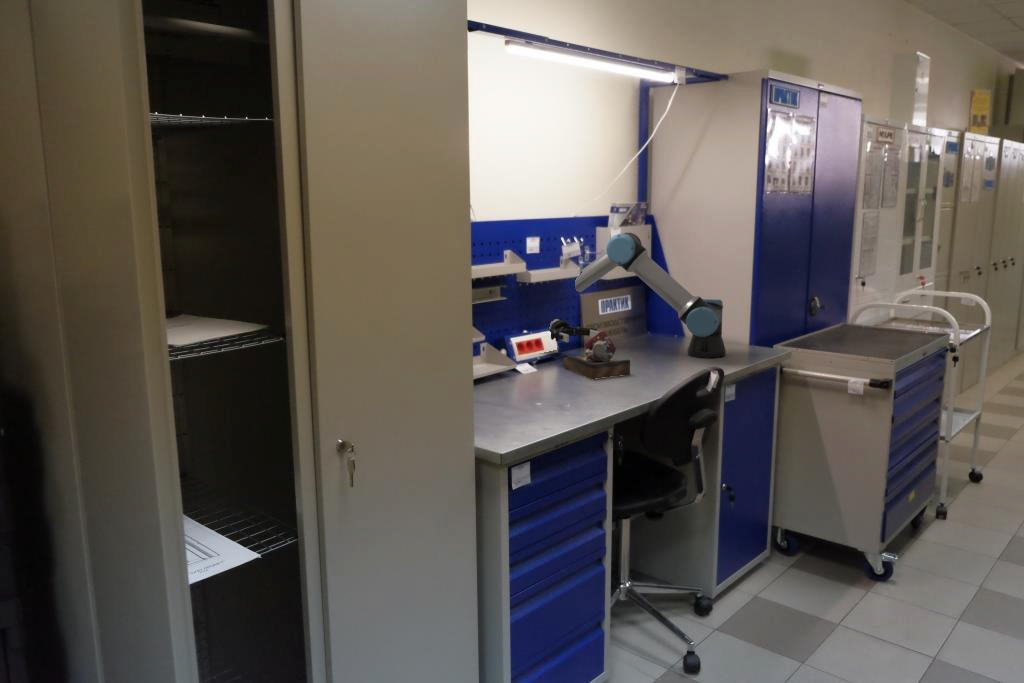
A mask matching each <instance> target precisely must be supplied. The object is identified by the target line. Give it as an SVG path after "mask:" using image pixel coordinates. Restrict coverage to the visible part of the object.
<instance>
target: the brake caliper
mask: <svg viewBox="0 0 1024 683" xmlns="http://www.w3.org/2000/svg"><path fill="white" fill-rule="evenodd" d="M598 332H599V333H598V334H597V335H595V336H594V337H590V338H589V339H588V340H587V342H585V352H584V355H587V357H585V359H584V360H585V361H587V360H588V359H590V360H593V361H601V362H609V360H610V359H611V358H613V357H614V355H615V353H616V350H617V347H616V345H615V344H614V342H613V341H612V340H611V339H610V337H609V335H608V334H607V332H606V331H605V330H601V331H598ZM597 337H600V338H599V339H598V338H597Z"/></svg>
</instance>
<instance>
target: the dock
mask: <svg viewBox="0 0 1024 683" xmlns="http://www.w3.org/2000/svg"><path fill="white" fill-rule="evenodd" d="M585 357H587V355H586V354H584V355H577V356H574V355H572V354H568V355H566V357H563V369H565V368H566V369H565V370H567V369H568V370H567V371H570V370H571V372H572V371H573V372H572V373H575V374H577V373H578V375H579V374H581V375H580V376H582V375H583V376H582V377H584V376H586V377H585V378H587V377H588V378H587V379H589V378H591V379H594V380H596V379H595V378H602V377H610V376H617V377H621V376H620V375H625V376H630V375H631V360H630V359H622V360H618V359H616V358H613V357H612V358H611V359H610V360H609V362H601V361H593V360H590V359H588V360H587V361H585V360H584V359H585ZM629 374H630V375H629ZM610 378H611V377H610ZM591 379H590V380H591ZM602 379H603V378H602Z"/></svg>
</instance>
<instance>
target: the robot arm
mask: <svg viewBox="0 0 1024 683" xmlns="http://www.w3.org/2000/svg"><path fill="white" fill-rule="evenodd" d="M605 249H606V252H604V253H603V254H602V255H600V256H599V257H597V258H596V259H594V260H593V261H592V262H590V263H588V265H586V266H585V267H584V268H583V269H581V270H582V273H581V275H580V276H579V277H577V278H576V280H575V289H576V291H578V292H580V293H581V292H583V291H585V290H586V289H587V288H589V287H590V286H591V285H593V284H594V283H596V282H597V281H598V280H600V279H601V278H603V277H605V276H606V275H607V274H608V273H609V272H611V271H613V270H615V269H616V268H617V267H618V268H619V267H620V268H622V269H623V270H625V271H626V272H627V273H634V274H635V275H636V276H637V277H638V278H639V279H640V280H641V281H642V282H644V283H645V284H646V285H647V286H648V287H649V288H650V289H652V291H654V293H656V294H657V295H658V296H659V297H660V298H661V299H663V301H664V302H666V303H667V304H668V305H669V306H670V307H672V309H674V310H675V311H676V312H677V314H678V315H677V316H678V319H679V320H680V321H681V322H682V323H684V324H685V326H686V328H687V330H688V331H689V333H690V334H691V338H690V341H689V345H688V347H687V355H688V356H690V357H693V356H694V358H700V357H703V358H704V359H711V358H710V357H718V358H721V357H720V356H723V357H725V356H726V353H727V350H726V347H725V343H724V341H723V337H722V336H723V335H722V334H723V309H724V304H723V301H722V300H721V299H709V298H704V299H703V297H700V296H699V295H698V296H697V295H696V296H694V295H692V294H691V293H690V292H689V291H688V290H687V289H686V288H685V287H683V285H682V284H680V282H678V281H677V280H676V279H674V278H673V276H671V275H670V274H669V273H668V272H667V271H666V270H664V269H663V267H661V266H660V265H659V264H658V263H656V261H654V260H653V259H652V258H651V257H650V256H649V254H648V249H646V247H644V245H642V240H641V238H640V237H639V236H638V235H636V234H635V233H632V232H623V233H621V232H620V233H617V234H615V235H614V236H612V237H611V238H610V239H609V240H608V242H607V245H606V248H605ZM549 331H550V332H551V336H550V340H554V339H555V338H556V339H555V341H556V342H560V341H562V342H564V343H569V342H570V337H578V336H586V337H587V336H589V337H590V338H593V337H594V336H595V335H597V334H598V333H599V332H600V331H597V328H594V327H584V326H582V327H581V326H570V323H568V322H567V321H564V320H561V319H559V318H557V319H554V320H553V321H551V323H550V327H549ZM597 338H598V339H599V338H600V337H597ZM724 355H725V356H724ZM703 358H702V359H703Z"/></svg>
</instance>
